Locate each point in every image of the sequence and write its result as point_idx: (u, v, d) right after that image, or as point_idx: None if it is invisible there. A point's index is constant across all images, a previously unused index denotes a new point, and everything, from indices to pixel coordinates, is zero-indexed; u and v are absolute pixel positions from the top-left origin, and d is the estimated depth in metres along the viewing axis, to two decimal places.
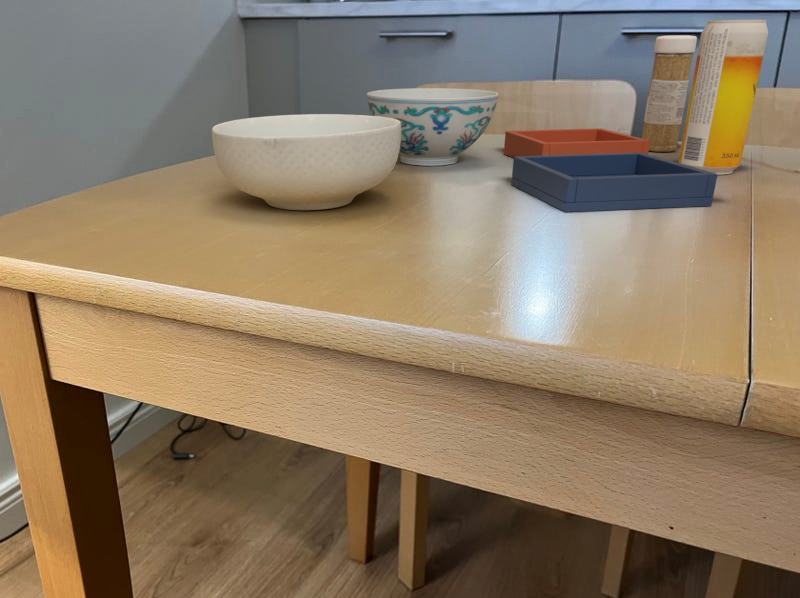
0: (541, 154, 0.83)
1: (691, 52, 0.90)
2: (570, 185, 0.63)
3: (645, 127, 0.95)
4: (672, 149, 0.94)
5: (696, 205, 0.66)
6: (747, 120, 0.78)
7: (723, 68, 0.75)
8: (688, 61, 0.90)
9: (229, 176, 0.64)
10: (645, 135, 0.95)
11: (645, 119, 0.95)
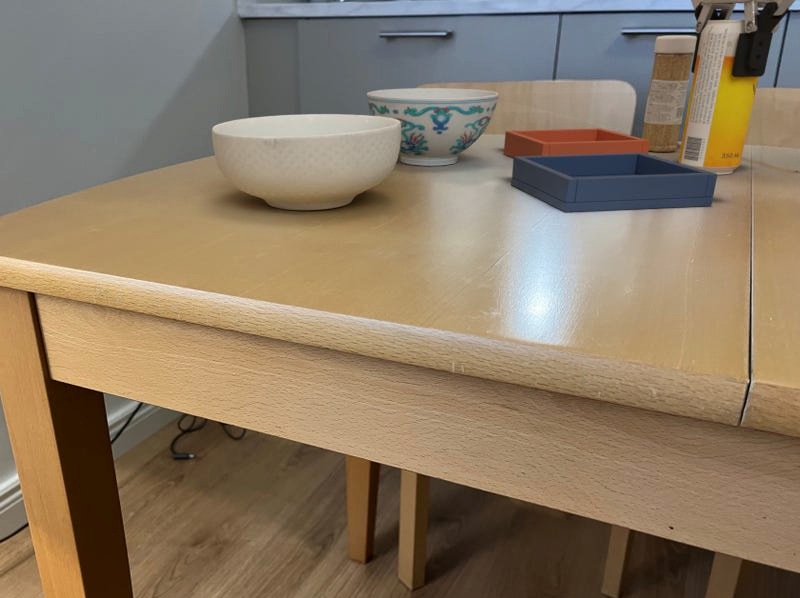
0: (541, 154, 0.83)
1: (691, 52, 0.90)
2: (570, 185, 0.63)
3: (645, 127, 0.95)
4: (672, 149, 0.94)
5: (696, 205, 0.66)
6: (747, 120, 0.78)
7: (722, 68, 0.75)
8: (688, 61, 0.90)
9: (229, 176, 0.64)
10: (645, 135, 0.95)
11: (645, 119, 0.95)
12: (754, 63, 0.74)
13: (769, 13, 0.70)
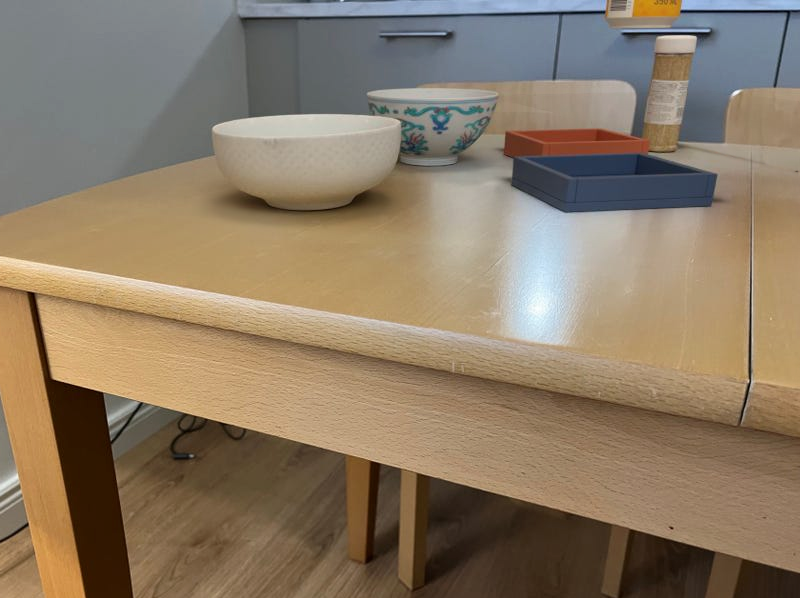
0: (541, 154, 0.83)
1: (691, 52, 0.90)
2: (570, 185, 0.63)
3: (645, 127, 0.95)
4: (672, 149, 0.94)
5: (696, 205, 0.66)
6: None
7: None
8: (688, 61, 0.90)
9: (229, 176, 0.64)
10: (645, 135, 0.95)
11: (645, 119, 0.95)
12: None
13: None
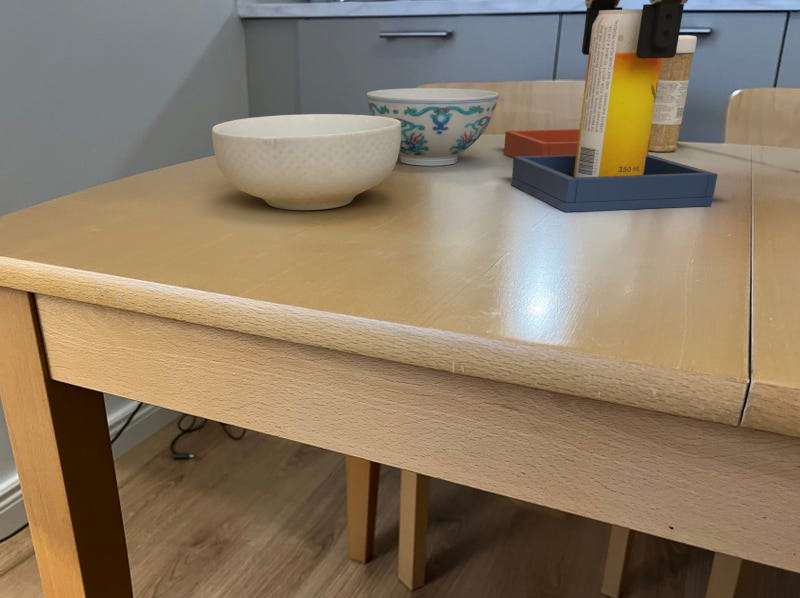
0: (541, 154, 0.83)
1: (691, 52, 0.90)
2: (570, 185, 0.63)
3: None
4: (672, 149, 0.94)
5: (696, 205, 0.66)
6: (647, 128, 0.66)
7: (614, 66, 0.64)
8: (688, 61, 0.90)
9: (229, 176, 0.64)
10: None
11: None
12: (661, 41, 0.60)
13: None
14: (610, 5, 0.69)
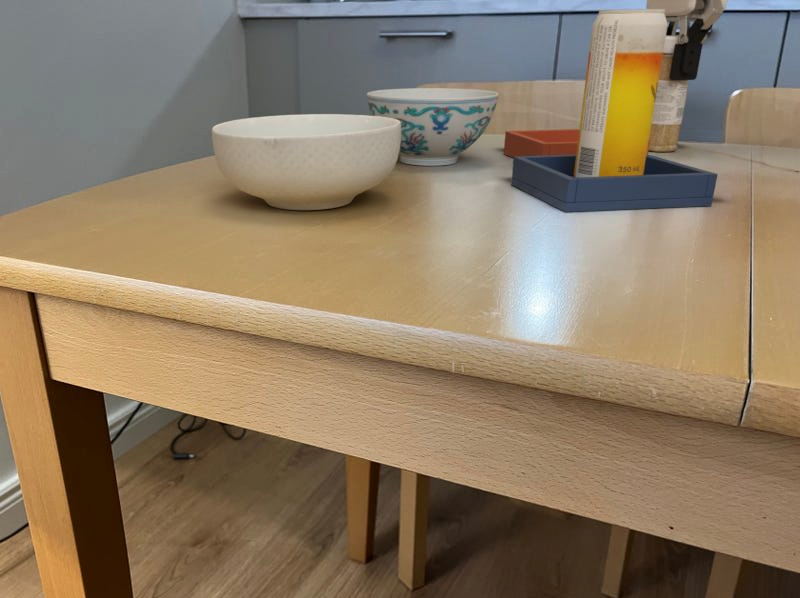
0: (541, 154, 0.83)
1: None
2: (570, 185, 0.63)
3: None
4: (672, 149, 0.94)
5: (696, 205, 0.66)
6: (647, 128, 0.66)
7: (614, 66, 0.64)
8: None
9: (229, 176, 0.64)
10: None
11: None
12: (687, 69, 0.89)
13: (697, 28, 0.85)
14: None
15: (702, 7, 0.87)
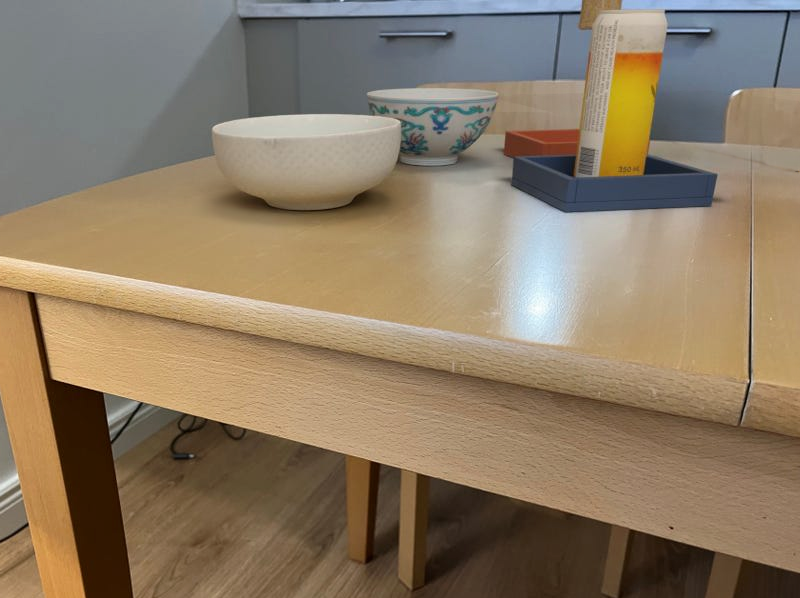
0: (541, 154, 0.83)
1: None
2: (570, 185, 0.63)
3: (583, 2, 0.84)
4: None
5: (696, 205, 0.66)
6: (647, 128, 0.66)
7: (614, 66, 0.64)
8: None
9: (229, 176, 0.64)
10: (583, 11, 0.84)
11: None
12: None
13: None
14: None
15: None
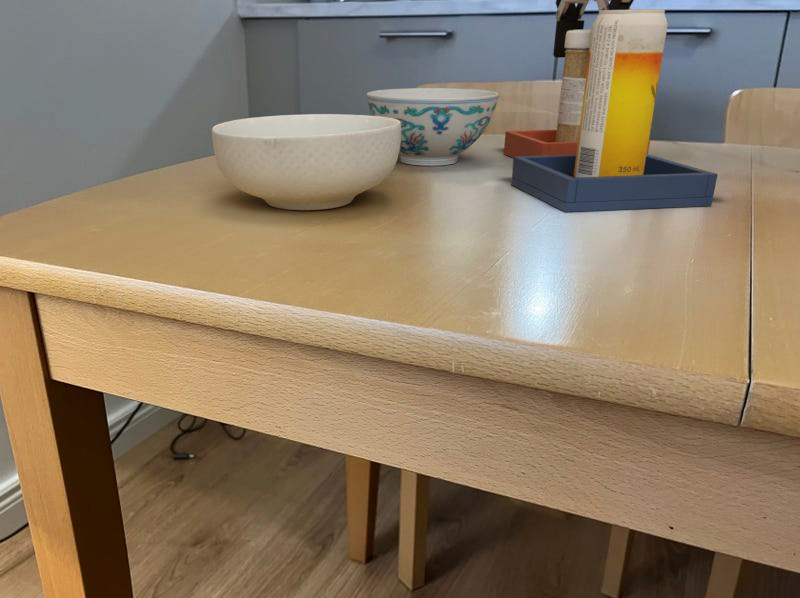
0: (541, 154, 0.83)
1: None
2: (570, 185, 0.63)
3: (557, 128, 0.88)
4: None
5: (696, 205, 0.66)
6: (647, 128, 0.66)
7: (614, 66, 0.64)
8: None
9: (229, 176, 0.64)
10: (558, 137, 0.88)
11: (558, 119, 0.88)
12: None
13: (617, 0, 0.76)
14: (574, 18, 0.88)
15: None
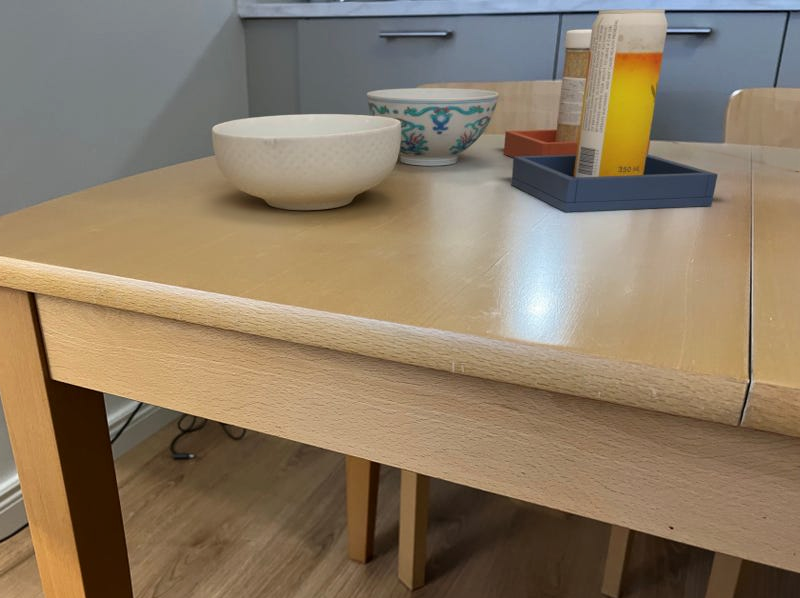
0: (541, 154, 0.83)
1: None
2: (570, 185, 0.63)
3: (557, 128, 0.88)
4: None
5: (696, 205, 0.66)
6: (647, 128, 0.66)
7: (614, 66, 0.64)
8: None
9: (229, 176, 0.64)
10: (558, 137, 0.88)
11: (558, 119, 0.88)
12: None
13: None
14: None
15: None
